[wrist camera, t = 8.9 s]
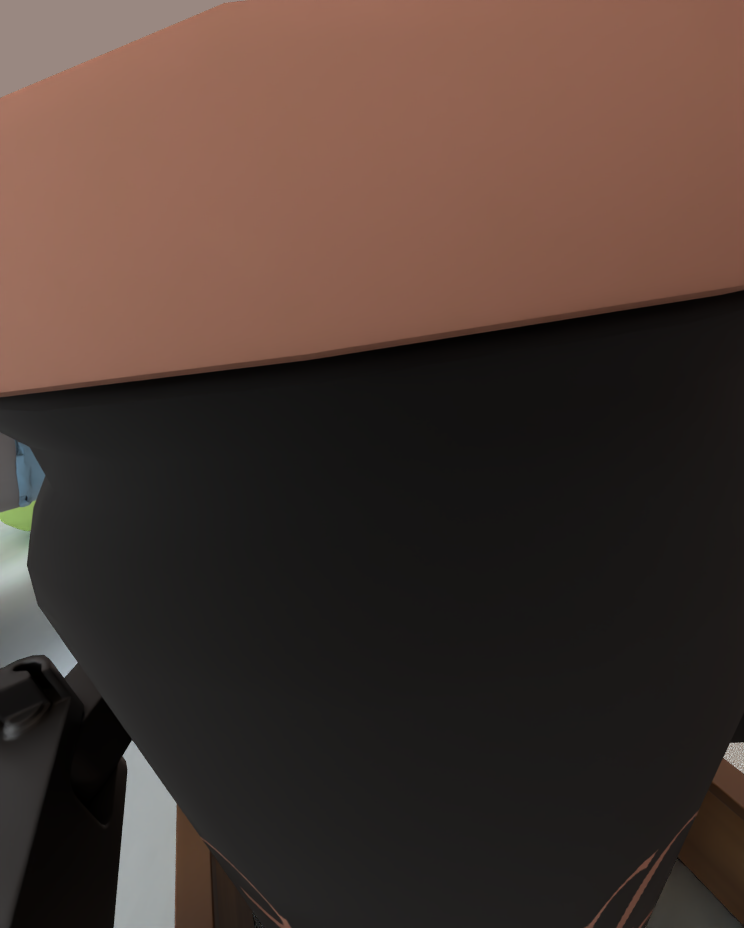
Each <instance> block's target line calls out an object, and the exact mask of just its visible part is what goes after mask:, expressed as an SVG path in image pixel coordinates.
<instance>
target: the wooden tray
mask: <svg viewBox="0 0 744 928" xmlns="http://www.w3.org/2000/svg"><path fill="white" fill-rule="evenodd" d="M678 858H679V859H680V860H681V861H682V862H683V863H684V864H685V865H686V866H687V867H688V868H689V869H690V870H691V871H692V872H693V873H694V875H695V876H696V877H697V878H698V879H699V880H700V881H701V882H702V883H703V884H704V885H705V886H706V887H707V888H708V889H709V890H710V891H711V892H712V893H713V894H714V896H715V897H716V898H717V899H718V900H719V901H720V902H721V903H722V904H723V905H724V906H725V907H726V908H727V909H728V910H729V911H730V912H731V913H732V914H733V916H734V917H735V918H736V919H737V920H738V921H739V922H740V923H741V924H742V925H743V926H744V774H743V773H742V772H741V771H739V770H738V769H737V768H735V767H734V766H733V765H732V764H730V763H729V762H728V761H726V760H725V759H724V758H723V759H722V761H721V763H720V765H719V768H718V770H717V772H716V774H715V776H714V778H713V781H712V783H711V785H710V787H709V789H708V792H707V794H706V796H705V798H704V800H703V802H702V805H701V807H700V809H699V811H698V813H697V815H696V818H695V820H694V822H693V824H692V826H691V828H690V831H689V833H688V835H687V837H686V839H685V842H684V844H683V846H682V848H681V850H680V852H679V855H678ZM175 928H254V921H253V912H252V910H251V909H250V907H249V906H248V904H247V903H246V901H245V900H244V899H243V897H242V896H241V894H240V893H239V891H238V890H237V889H236V887H235V886H234V884H233V883H232V881H231V880H230V879H229V877H228V876H227V874H226V873H225V871H224V870H223V869H222V867H221V866H220V864H219V863H218V861H217V860H216V859H215V857H214V856H213V854H212V853H211V851H210V850H209V849H208V847H207V846H206V844H205V843H204V841H203V840H202V839H201V837H200V836H199V834H198V833H197V832H196V830H195V829H194V827H193V826H192V824H191V823H190V822H189V820H188V819H187V817H186V816H185V814H184V813H183V812H182V810H181V809H180V807H179V806H178V804H177V817H176V878H175Z"/></svg>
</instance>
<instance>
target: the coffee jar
mask: <svg viewBox="0 0 744 928" xmlns="http://www.w3.org/2000/svg"><path fill="white" fill-rule="evenodd" d="M0 433H2V434H4V435H6V436H8V437H10V438H12V439H14V440H16V441H18V442H20V443H22V444H24V445H26V446H28V447H30V449H31V451H32V453H33V454H34V456H35V458H36V460H37V461H38V463H39V465H40V467H41V468H42V470H43V472H44V474H45V478H44V481H43V483H42V486H41V488H40V491H39V494H38V496H37V499H36V502H35V504H34V507H33V515H32V524H31V533H30V542H29V552H28V561H27V567H28V571H29V574H30V578H31V582H32V585H33V589H34V593H35V596H36V600H37V604H38V606H39V607H40V609H41V610H42V612H43V613H44V615H45V616H46V617H47V619H48V620H49V622H50V623H51V625H52V626H53V627H54V629H55V630H56V632H57V633H58V635H59V636H60V637H61V639H62V640H63V642H64V643H65V645H66V646H67V647H68V649H69V650H70V652H71V653H72V655H73V656H74V657H75V659H76V660H77V662H78V663H79V665H80V666H81V667H82V669H83V670H84V672H85V673H86V675H87V676H88V677H89V679H90V680H91V682H92V683H93V685H94V686H95V687H96V689H97V690H98V692H99V693H100V694H101V696H102V697H103V699H104V700H105V702H106V703H107V704H108V706H109V707H110V709H111V710H112V712H113V713H114V714H115V716H116V717H117V719H118V720H119V722H120V723H121V724H122V726H123V727H124V729H125V730H126V732H127V733H128V734H129V736H130V737H131V739H132V740H133V742H134V743H135V744H136V746H137V747H138V749H139V750H140V752H141V753H142V754H143V756H144V757H145V759H146V760H147V762H148V763H149V764H150V766H151V767H152V769H153V770H154V772H155V773H156V774H157V776H158V777H159V779H160V780H161V782H162V783H163V784H164V786H165V787H166V789H167V790H168V792H169V793H170V794H171V796H172V797H173V799H174V800H175V802H176V803H177V804H178V806H179V807H180V809H181V810H182V812H183V813H184V814H185V816H186V817H187V819H188V820H189V822H190V823H191V824H192V826H193V827H194V829H195V830H196V832H197V833H198V834H199V836H200V837H201V839H202V840H203V841H204V843H205V844H206V846H207V847H208V849H209V850H210V851H211V853H212V854H213V856H214V857H215V859H216V860H217V861H218V863H219V864H220V866H221V867H222V869H223V870H224V871H225V873H226V874H227V876H228V877H229V879H230V880H231V881H232V883H233V884H234V886H235V887H236V889H237V890H238V891H239V893H240V894H241V896H242V897H243V899H244V900H245V901H246V903H247V904H248V906H249V907H250V909H251V910H252V911H253V913H254V914H255V916H256V917H257V919H258V920H259V921H260V923H261V924H262V926H263V927H264V928H645V926H646V924H647V922H648V920H649V918H650V915H651V913H652V911H653V909H654V907H655V905H656V902H657V900H658V898H659V896H660V894H661V891H662V889H663V887H664V885H665V883H666V881H667V878H668V876H669V874H670V872H671V870H672V868H673V865H674V863H675V861H676V859H677V857H678V855H679V852H680V850H681V848H682V846H683V844H684V842H685V839H686V837H687V835H688V833H689V831H690V828H691V826H692V824H693V822H694V820H695V818H696V815H697V813H698V811H699V809H700V807H701V805H702V802H703V800H704V798H705V796H706V794H707V792H708V789H709V787H710V785H711V783H712V781H713V778H714V776H715V774H716V772H717V770H718V768H719V765H720V763H721V761H722V759H723V757H724V755H725V752H726V750H727V748H728V746H729V744H730V742H731V739H732V737H733V735H734V733H735V731H736V729H737V726H738V724H739V722H740V720H741V718H742V715H743V713H744V0H246V1H237V2H230V3H223V4H221V5H219V6H216V7H214V8H212V9H209V10H207V11H204V12H202V13H200V14H197V15H195V16H193V17H190V18H188V19H186V20H183V21H181V22H178V23H176V24H174V25H171V26H169V27H167V28H164V29H162V30H159V31H157V32H155V33H152V34H150V35H148V36H145V37H143V38H141V39H139V40H136V41H134V42H131V43H129V44H127V45H124V46H122V47H119V48H117V49H115V50H112V51H110V52H107V53H105V54H103V55H100V56H98V57H96V58H93V59H91V60H89V61H86V62H84V63H81V64H79V65H77V66H74V67H72V68H70V69H67V70H65V71H63V72H60V73H58V74H56V75H53V76H51V77H48V78H46V79H44V80H41V81H39V82H36V83H34V84H32V85H29V86H27V87H25V88H22V89H20V90H18V91H15V92H13V93H11V94H8V95H6V96H3V97H1V98H0Z"/></svg>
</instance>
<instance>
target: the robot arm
mask: <svg viewBox="0 0 744 928" xmlns="http://www.w3.org/2000/svg"><path fill="white" fill-rule="evenodd" d="M44 478H45V474H44V472H43V470H42V468H41V467H40V465H39V463H38V461H37V460H36V458H35V456H34V454H33V453H32V451H31V449H30V447H28V446H26V445H24V444H22V443H20V442H18V441H16V440H14V439H12V438H10V437H8V436H6V435H4V434H2V433H0V512H4V511H7V510H11V509H14V508H18V507H25V506H28V505H30V504H31V503H32V502H33V501H36V499H37V496H38V494H39V491H40V488H41V486H42V483H43V481H44ZM131 740H132V739H131V737H130V736H129V734H128V733H127V732H126V730H125V729H124V727H123V726H122V724H121V723H120V722H119V720H118V719H117V717H116V716H115V714H114V713H113V712H112V710H111V709H110V707H109V706H108V704H107V703H106V702H105V700H104V699H103V697H102V696H101V694H100V693H99V692H98V690H97V689H96V687H95V686H94V685H93V683H92V682H91V680H90V679H89V677H88V676H87V675H86V673H85V672H84V670H83V669H82V667H81V666H80V665H79V663H77V664H76V666H75V667H74V668H73V669H72V670H71V671H70V672H69V673H68V675H67V676H66V677H65V678H64V677H63V676H62V675H61V673H60V672H59V671H58V669H57V668H56V667H55V665H54V664H53V663H52V661H51V660H50V659H49V658H47V657H46V656H45V655H32V656H29V657H26V658H23V659H20V660H17V661H15V662H13V663H11V664H9V665H7V666H5V667H3V668H1V669H0V928H113V927H114V916H115V905H116V894H117V882H118V871H119V860H120V848H121V837H122V826H123V815H124V803H125V792H126V781H127V765H126V761H125V759H124V758H123V757H122V756H123V754H124V752H125V751H126V749H127V747H128V746H129V744H130V742H131ZM738 742H744V713H743V715H742V718H741V720H740V722H739V724H738V726H737V729H736V731H735V733H734V735H733V737H732V739H731V742H730V743H738Z"/></svg>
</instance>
